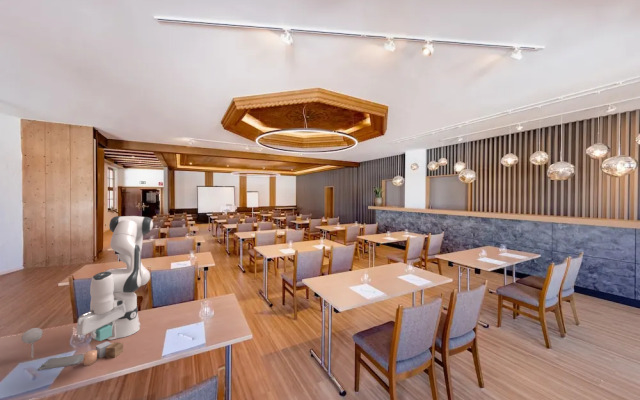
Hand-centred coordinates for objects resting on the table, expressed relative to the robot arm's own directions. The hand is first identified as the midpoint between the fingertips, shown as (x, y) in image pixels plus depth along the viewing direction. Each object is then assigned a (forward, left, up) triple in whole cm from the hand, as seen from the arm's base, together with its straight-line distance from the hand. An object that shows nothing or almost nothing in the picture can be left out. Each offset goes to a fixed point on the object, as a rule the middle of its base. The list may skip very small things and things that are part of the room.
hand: (102, 334), depth 122 cm
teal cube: (0, 0, -2) cm, 2 cm away
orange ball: (-9, +1, -16) cm, 18 cm away
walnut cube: (-4, +9, -16) cm, 19 cm away
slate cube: (-10, +8, -16) cm, 20 cm away
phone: (-22, -2, -17) cm, 28 cm away
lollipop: (-42, -3, -16) cm, 45 cm away
